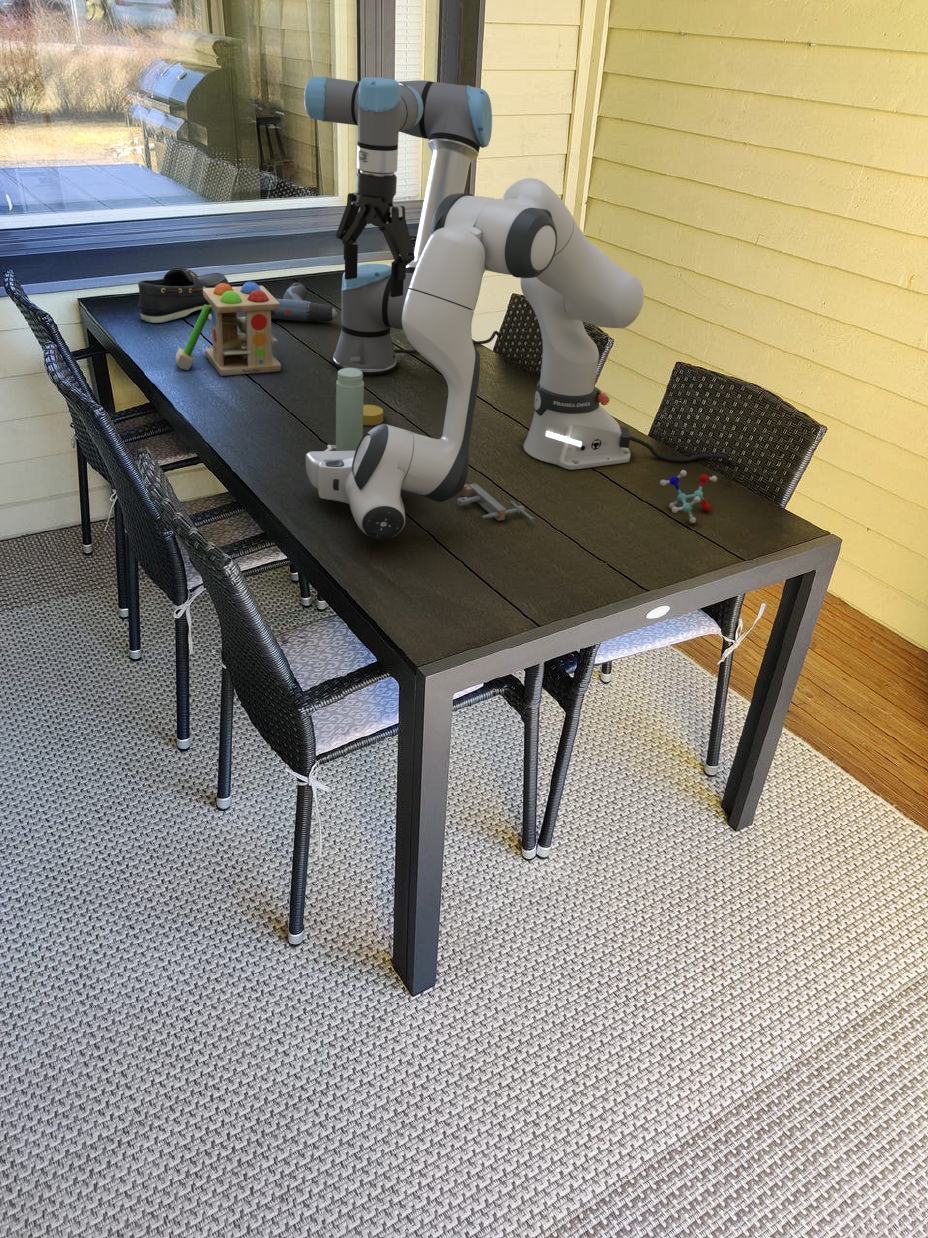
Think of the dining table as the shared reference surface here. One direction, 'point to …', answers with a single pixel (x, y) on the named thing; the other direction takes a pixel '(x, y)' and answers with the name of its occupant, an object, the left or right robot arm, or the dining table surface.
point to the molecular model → (683, 497)
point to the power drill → (301, 307)
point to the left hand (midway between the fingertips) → (373, 287)
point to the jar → (349, 409)
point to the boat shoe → (175, 294)
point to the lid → (372, 415)
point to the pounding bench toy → (229, 347)
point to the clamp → (488, 503)
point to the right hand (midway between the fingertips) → (356, 447)
